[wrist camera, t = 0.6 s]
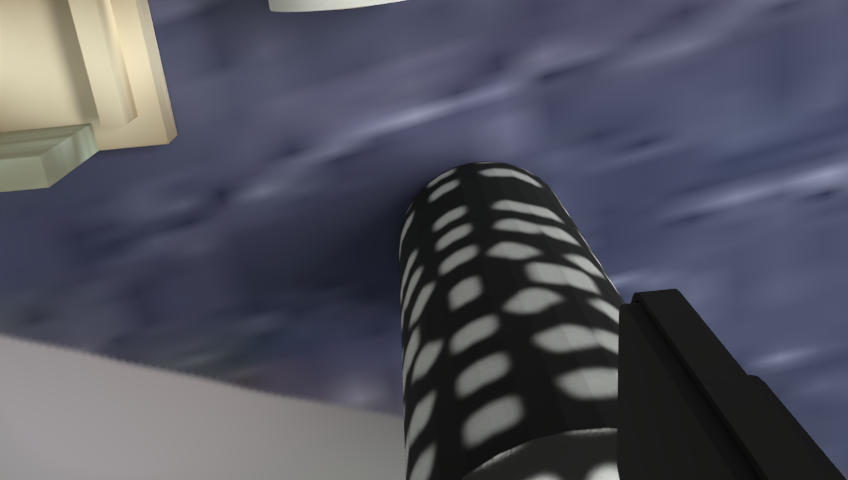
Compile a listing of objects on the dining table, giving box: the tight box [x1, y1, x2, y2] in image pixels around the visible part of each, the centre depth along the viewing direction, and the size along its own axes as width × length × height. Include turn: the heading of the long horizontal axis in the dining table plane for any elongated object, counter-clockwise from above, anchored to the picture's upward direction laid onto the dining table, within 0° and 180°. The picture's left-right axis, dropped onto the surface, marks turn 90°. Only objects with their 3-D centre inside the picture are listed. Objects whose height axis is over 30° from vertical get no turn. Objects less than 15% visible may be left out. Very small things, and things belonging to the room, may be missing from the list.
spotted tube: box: [399, 162, 625, 480], centre depth 27 cm, size 8×8×20 cm
